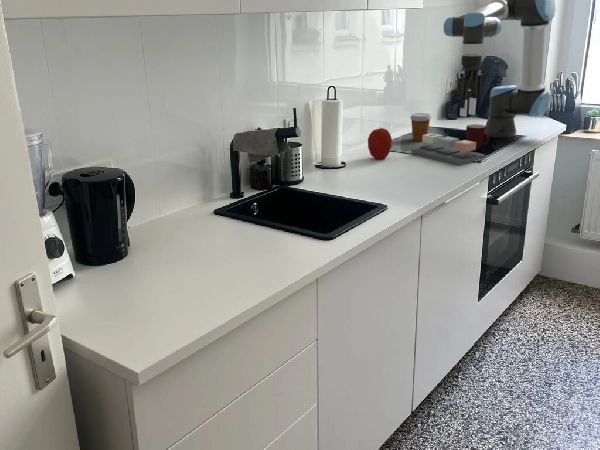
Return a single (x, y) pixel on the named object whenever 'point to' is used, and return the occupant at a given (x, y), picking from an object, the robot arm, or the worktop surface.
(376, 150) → the apple
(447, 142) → the key slate
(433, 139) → the key cream
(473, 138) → the mug
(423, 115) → the disposable coffee cup
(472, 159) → the keypad base
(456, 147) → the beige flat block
